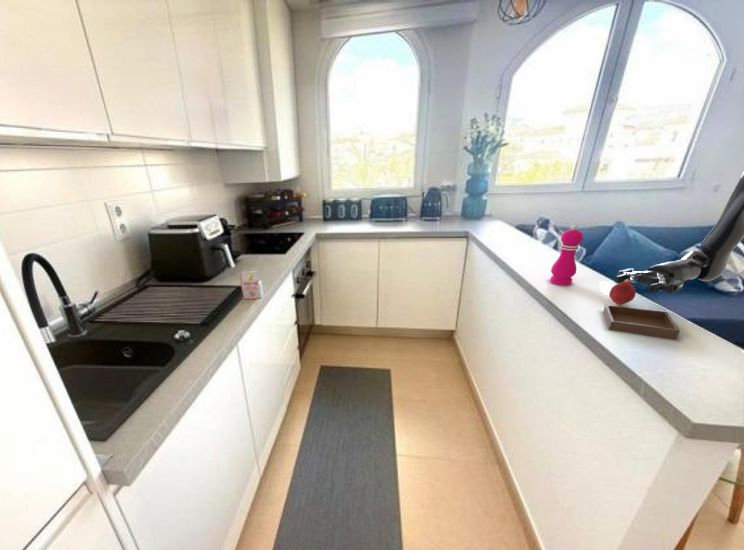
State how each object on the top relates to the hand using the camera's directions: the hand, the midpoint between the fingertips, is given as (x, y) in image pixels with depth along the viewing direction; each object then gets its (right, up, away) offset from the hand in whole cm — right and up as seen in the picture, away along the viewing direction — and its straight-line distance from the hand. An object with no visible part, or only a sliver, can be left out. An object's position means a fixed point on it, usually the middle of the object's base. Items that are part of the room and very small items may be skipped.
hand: (632, 284), depth 101 cm
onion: (-3, -6, +2) cm, 7 cm away
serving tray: (-7, -12, -9) cm, 17 cm away
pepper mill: (-8, +2, +20) cm, 21 cm away
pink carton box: (-117, -3, +27) cm, 120 cm away
